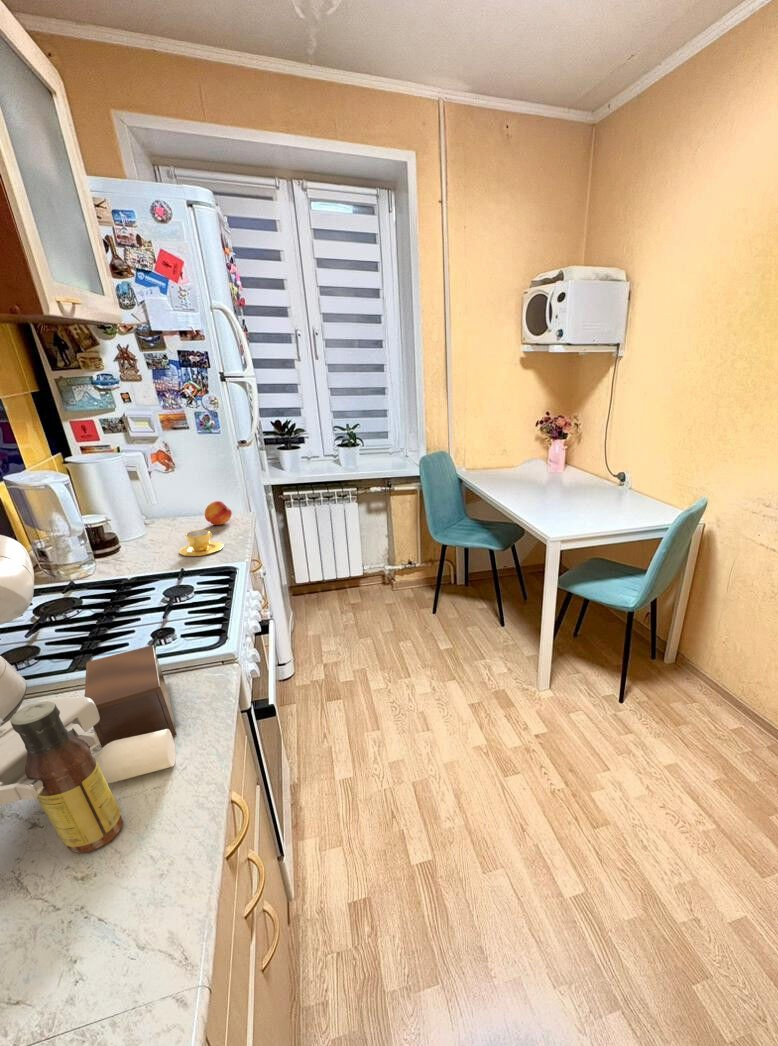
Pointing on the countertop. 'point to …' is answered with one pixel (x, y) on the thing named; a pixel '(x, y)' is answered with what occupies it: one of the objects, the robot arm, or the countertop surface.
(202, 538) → the cup
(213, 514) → the fruit
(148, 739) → the cream bottle
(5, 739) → the robot arm
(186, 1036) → the countertop surface
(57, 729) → the sauce bottle
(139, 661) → the bread box lid
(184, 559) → the countertop surface
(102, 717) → the bread box
